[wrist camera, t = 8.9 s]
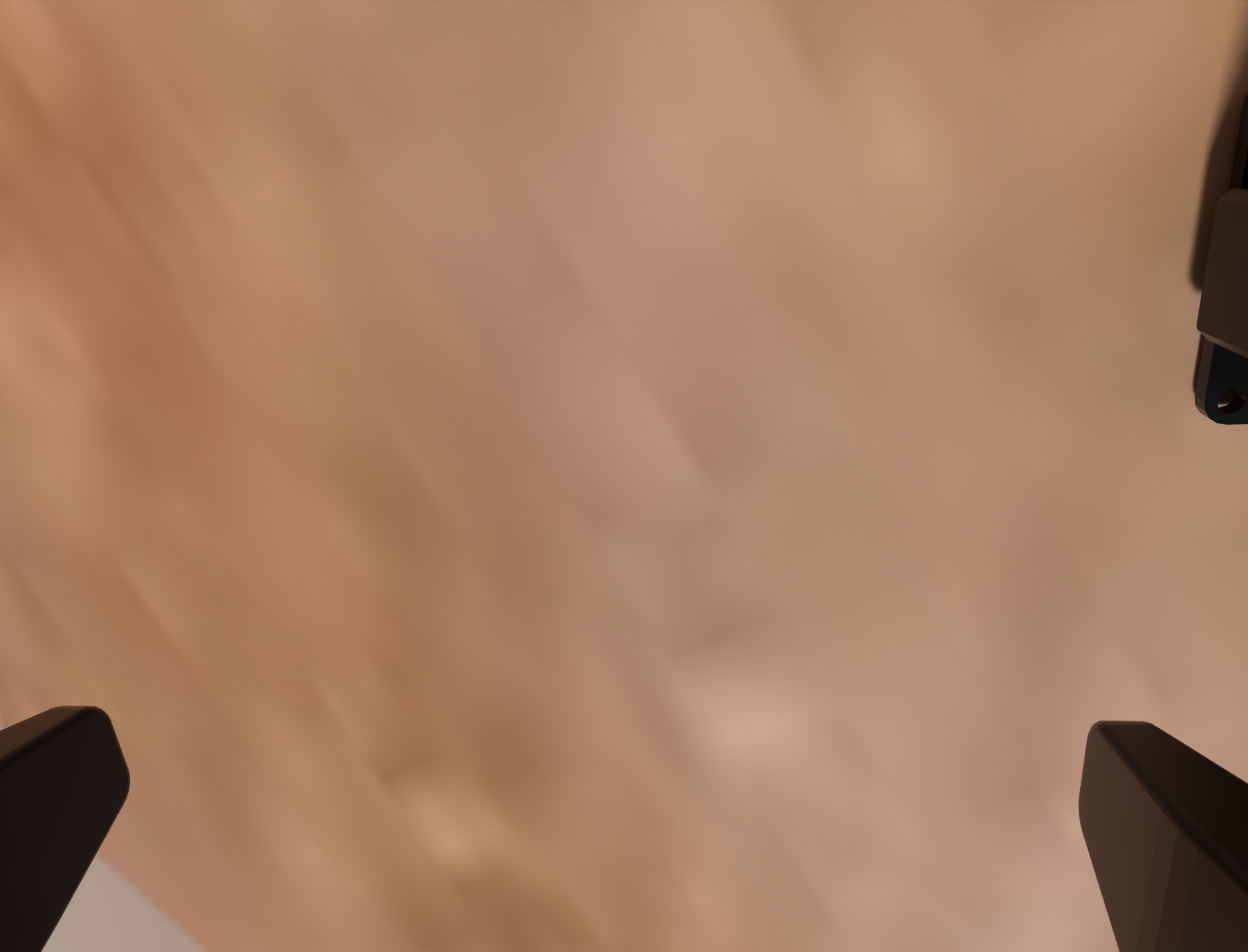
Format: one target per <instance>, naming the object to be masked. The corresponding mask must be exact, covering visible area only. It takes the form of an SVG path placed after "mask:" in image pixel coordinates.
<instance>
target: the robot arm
mask: <svg viewBox="0 0 1248 952" xmlns="http://www.w3.org/2000/svg"><path fill="white" fill-rule="evenodd" d="M1197 329H1198V330H1199V331H1200V332H1201V333H1202V334H1203V335H1204V336H1205V338H1204V344H1203V350H1202V356H1201V363H1200V369H1199V375H1198V381H1197V387H1196V393H1195V405H1196V407H1197V409H1198V410H1199V412H1200V413H1202V414H1203V415H1205V416H1206V417H1208V418H1209V419H1211V420H1213V421H1214V422H1216V423H1219V424H1226V425H1233V424H1248V95H1247V96H1246V99H1245V102H1244V105H1243V108H1242V114H1241V121H1240V127H1239V133H1238V139H1237V145H1236V151H1235V157H1234V163H1233V169H1232V175H1231V181H1230V187H1229V190H1228V191H1227V192H1226V193H1225V194H1224V195H1223V196H1222V197H1221V198H1220V199H1219V200H1218V202H1217V203H1216V208H1215V214H1214V220H1213V226H1212V233H1211V239H1210V245H1209V251H1208V257H1207V264H1206V270H1205V276H1204V282H1203V288H1202V295H1201V301H1200V307H1199V313H1198V320H1197ZM1230 389H1235V397H1234V399H1233V401H1232V402H1230V403H1229V404H1228V405H1227V406H1223V407H1218V402H1217V401H1218V399H1219V397H1220V395H1221V394H1223V393H1224V392H1225V391H1226V390H1230ZM129 787H130V773H129V770H128V767H127V764H126V761H125V758H124V756H123V753H122V750H121V747H120V744H119V742H118V739H117V736H116V733H115V730H114V728H113V725H112V722H111V720H110V718H109V716H108V715H107V714H106V713H105V712H104V711H103V710H102V709H101V708H98V707H95V706H59V707H55V708H52V709H49V710H47V711H45V712H42V713H40V714H38V715H35V716H33V717H31V718H28V719H26V720H24V721H21V722H19V723H17V724H15V725H12V726H10V727H8V728H5V729H3V730H1V731H0V952H42V950H43V948H44V946H45V945H46V943H47V941H48V940H49V938H50V936H51V934H52V933H53V931H54V929H55V927H56V926H57V924H58V922H59V920H60V918H61V917H62V915H63V913H64V911H65V909H66V908H67V906H68V904H69V902H70V900H71V898H72V897H73V895H74V893H75V891H76V890H77V888H78V886H79V884H80V882H81V880H82V879H83V877H84V875H85V873H86V871H87V870H88V868H89V866H90V864H91V862H92V861H93V859H94V857H95V855H96V853H97V852H98V850H99V848H100V846H101V844H102V843H103V841H104V839H105V837H106V835H107V833H108V832H109V830H110V828H111V826H112V824H113V823H114V821H115V819H116V817H117V815H118V814H119V812H120V810H121V808H122V806H123V805H124V803H125V800H126V798H127V795H128V792H129ZM1079 818H1080V824H1081V828H1082V832H1083V836H1084V839H1085V842H1086V845H1087V848H1088V852H1089V855H1090V858H1091V861H1092V865H1093V868H1094V871H1095V874H1096V878H1097V881H1098V884H1099V887H1100V890H1101V894H1102V897H1103V900H1104V903H1105V907H1106V910H1107V913H1108V916H1109V920H1110V923H1111V926H1112V929H1113V932H1114V936H1115V939H1116V942H1117V945H1118V949H1119V952H1248V783H1246V782H1245V781H1243V780H1242V779H1240V778H1238V777H1237V776H1235V775H1234V774H1232V773H1230V772H1229V771H1227V770H1226V769H1224V768H1222V767H1221V766H1219V765H1218V764H1216V763H1214V762H1213V761H1211V760H1210V759H1208V758H1206V757H1205V756H1203V755H1202V754H1200V753H1198V752H1197V751H1195V750H1194V749H1192V748H1190V747H1189V746H1187V745H1186V744H1184V743H1182V742H1181V741H1179V740H1177V739H1176V738H1174V737H1173V736H1171V735H1169V734H1168V733H1166V732H1165V731H1163V730H1161V729H1160V728H1158V727H1156V726H1155V725H1153V724H1151V723H1148V722H1144V721H1098V722H1097V723H1095V724H1094V725H1092V727H1091V729H1090V731H1089V733H1088V737H1087V743H1086V750H1085V757H1084V765H1083V772H1082V779H1081V786H1080V793H1079Z"/></svg>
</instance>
